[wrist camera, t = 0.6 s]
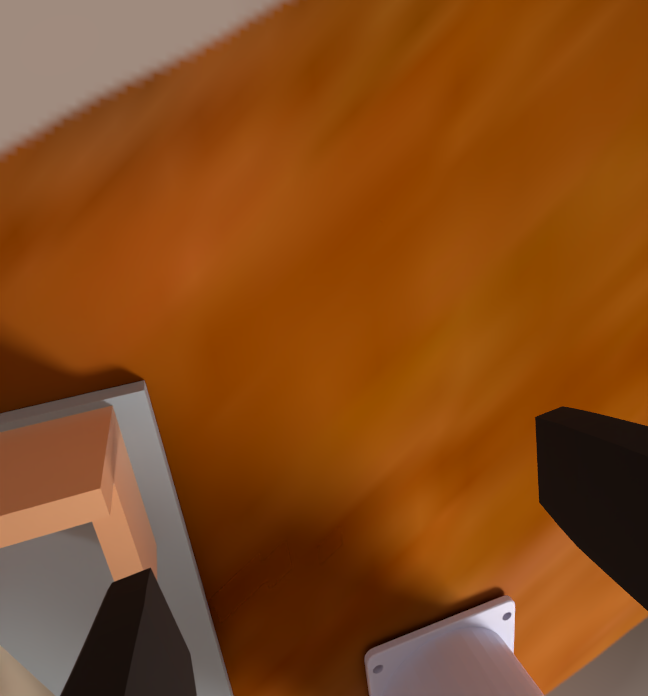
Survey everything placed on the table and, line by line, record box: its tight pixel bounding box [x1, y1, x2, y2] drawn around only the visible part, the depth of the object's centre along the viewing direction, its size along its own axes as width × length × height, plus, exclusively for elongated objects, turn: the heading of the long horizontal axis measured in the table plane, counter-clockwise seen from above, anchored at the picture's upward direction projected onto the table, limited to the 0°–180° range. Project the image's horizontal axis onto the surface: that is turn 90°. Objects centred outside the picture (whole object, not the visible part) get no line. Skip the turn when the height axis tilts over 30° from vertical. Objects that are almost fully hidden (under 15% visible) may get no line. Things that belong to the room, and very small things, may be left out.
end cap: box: [0, 405, 157, 582], centre depth 14 cm, size 6×6×4 cm
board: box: [0, 380, 233, 696], centre depth 18 cm, size 17×10×1 cm, turn 7°
